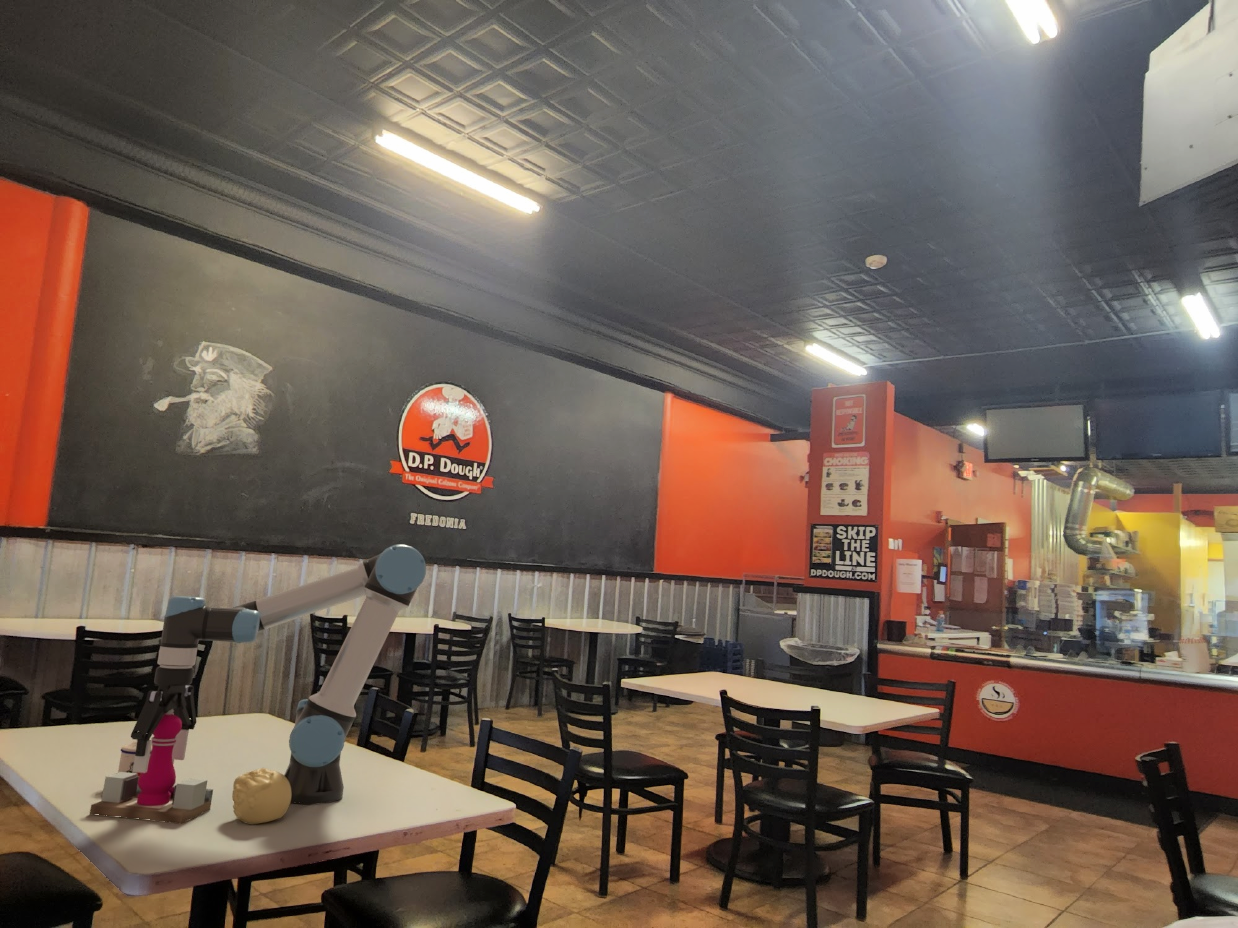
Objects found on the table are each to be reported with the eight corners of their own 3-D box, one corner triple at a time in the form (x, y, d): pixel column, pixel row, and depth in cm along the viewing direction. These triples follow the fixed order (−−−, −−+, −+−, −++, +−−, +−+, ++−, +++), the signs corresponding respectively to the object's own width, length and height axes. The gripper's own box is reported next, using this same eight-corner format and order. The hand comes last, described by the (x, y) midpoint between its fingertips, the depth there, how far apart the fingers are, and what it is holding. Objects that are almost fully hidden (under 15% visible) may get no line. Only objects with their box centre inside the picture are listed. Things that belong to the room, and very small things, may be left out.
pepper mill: (142, 807, 170) (160, 710, 173) (128, 800, 174) (145, 705, 177) (178, 803, 175) (194, 708, 179) (163, 796, 180) (178, 704, 183)
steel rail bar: (211, 800, 179) (213, 789, 180) (208, 801, 178) (210, 790, 179) (125, 792, 181) (127, 780, 181) (122, 793, 179) (124, 782, 180)
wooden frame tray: (210, 809, 179) (211, 800, 179) (180, 823, 168) (182, 813, 168) (124, 801, 180) (125, 791, 181) (89, 814, 169) (91, 804, 170)
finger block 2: (203, 803, 176) (207, 780, 177) (190, 809, 171) (194, 785, 172) (183, 801, 177) (187, 778, 177) (170, 807, 172) (174, 783, 173)
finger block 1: (136, 797, 177) (140, 773, 178) (121, 802, 172) (125, 778, 173) (116, 795, 177) (120, 771, 178) (101, 800, 173) (105, 776, 173)
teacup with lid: (118, 791, 187) (127, 740, 189) (110, 783, 194) (119, 733, 196) (174, 787, 195) (182, 737, 197) (165, 778, 202) (173, 730, 204)
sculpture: (220, 817, 175) (228, 765, 177) (275, 810, 183) (282, 760, 185) (239, 830, 167) (247, 776, 168) (296, 822, 175) (303, 771, 177)
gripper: (191, 660, 192) (176, 753, 188) (123, 669, 167) (104, 775, 164) (221, 663, 191) (207, 755, 188) (157, 672, 167) (139, 779, 163)
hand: (159, 765), depth 176 cm, fingers open, 13 cm apart
